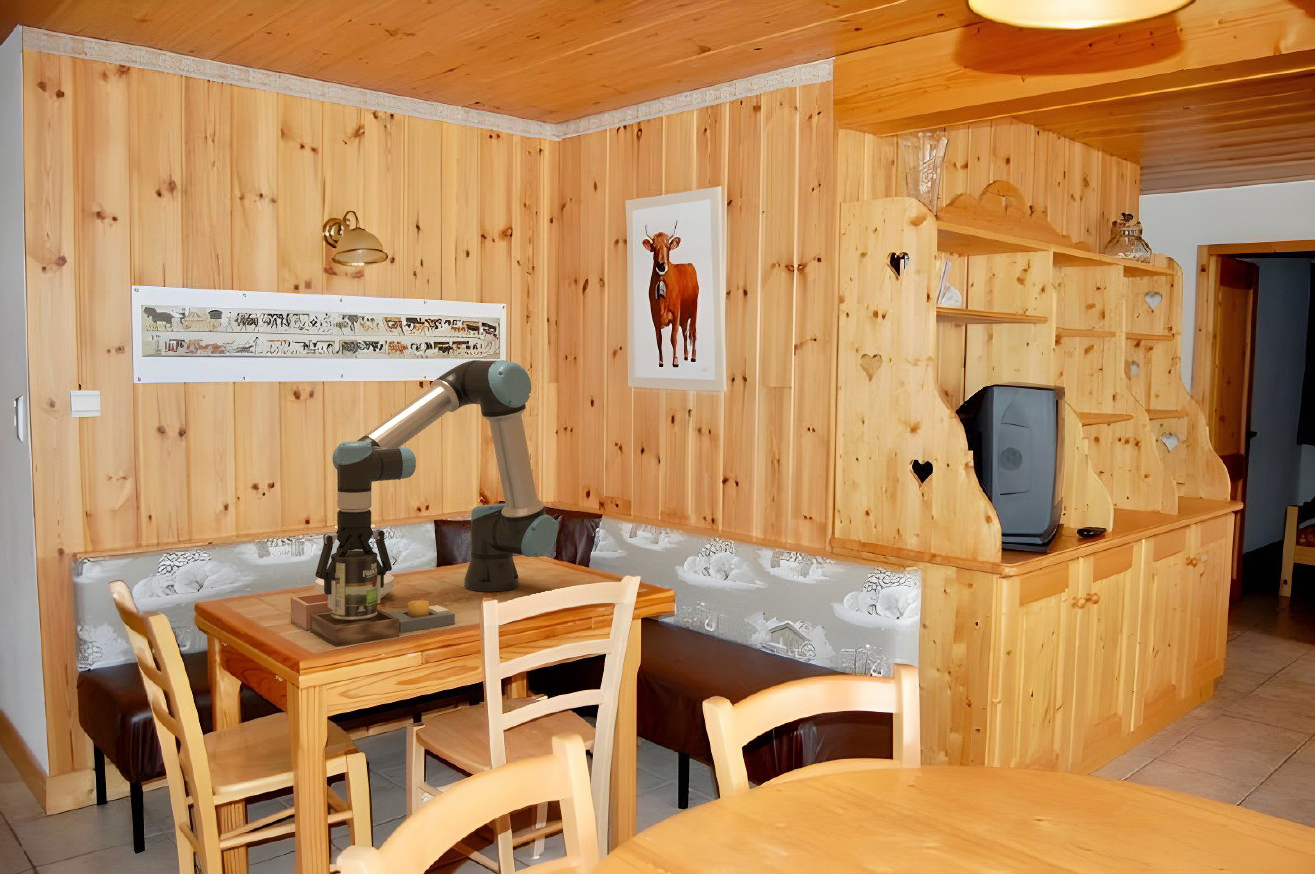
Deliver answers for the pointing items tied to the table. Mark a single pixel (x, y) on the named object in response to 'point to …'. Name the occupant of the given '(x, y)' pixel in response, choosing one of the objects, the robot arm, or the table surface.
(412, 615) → the button
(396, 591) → the table surface
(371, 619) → the dark wooden tray
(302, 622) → the terracotta square planter
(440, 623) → the base
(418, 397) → the robot arm
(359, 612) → the coffee can
